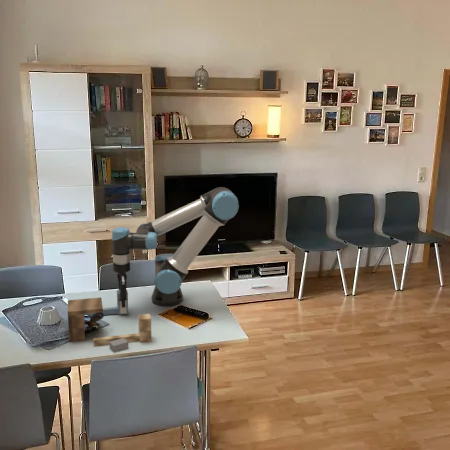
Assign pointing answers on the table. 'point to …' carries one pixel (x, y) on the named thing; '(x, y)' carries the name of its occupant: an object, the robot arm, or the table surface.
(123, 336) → the plain l-shaped wooden block
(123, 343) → the grey eraser block
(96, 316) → the eagle figurine
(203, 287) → the table surface
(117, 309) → the crook
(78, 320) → the wooden l bracket
